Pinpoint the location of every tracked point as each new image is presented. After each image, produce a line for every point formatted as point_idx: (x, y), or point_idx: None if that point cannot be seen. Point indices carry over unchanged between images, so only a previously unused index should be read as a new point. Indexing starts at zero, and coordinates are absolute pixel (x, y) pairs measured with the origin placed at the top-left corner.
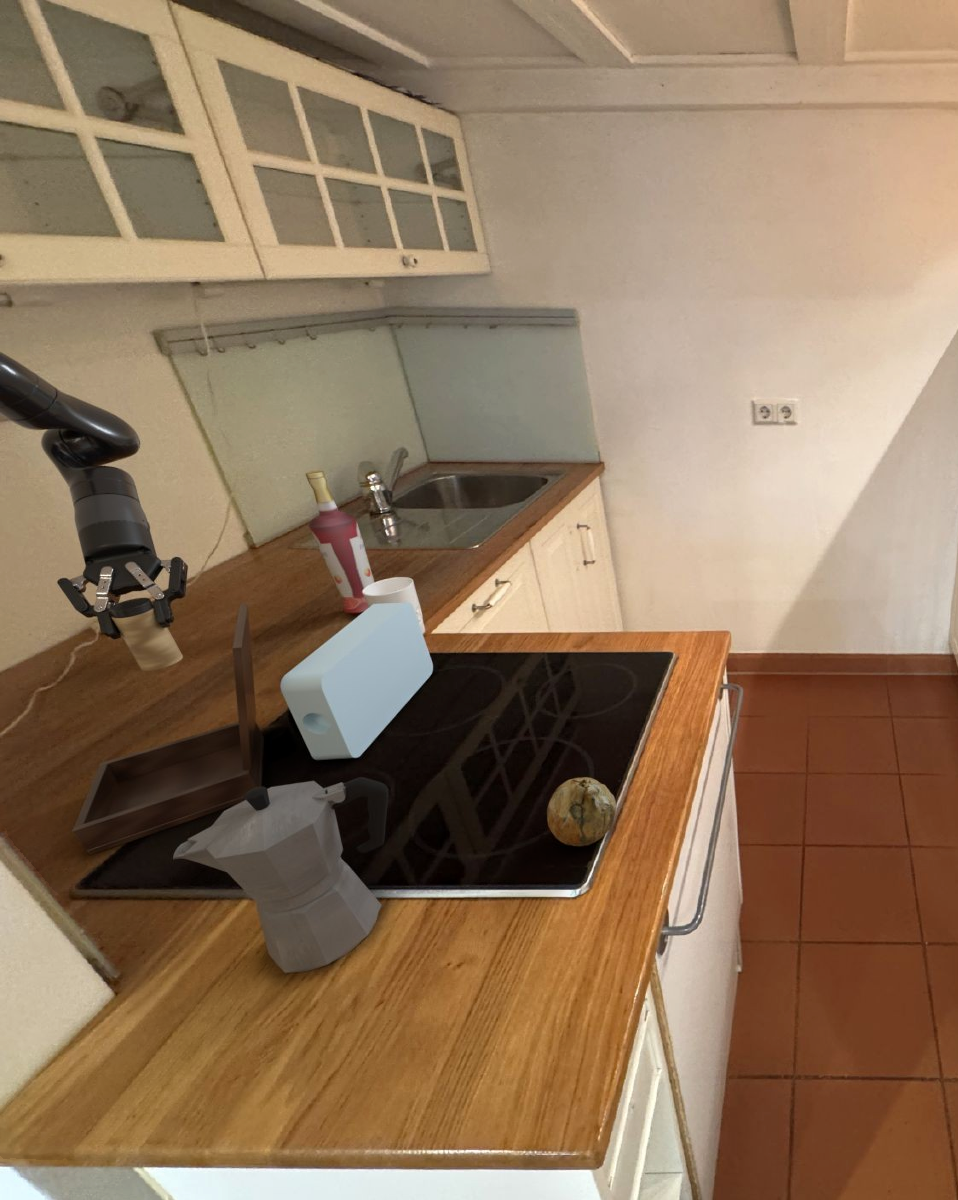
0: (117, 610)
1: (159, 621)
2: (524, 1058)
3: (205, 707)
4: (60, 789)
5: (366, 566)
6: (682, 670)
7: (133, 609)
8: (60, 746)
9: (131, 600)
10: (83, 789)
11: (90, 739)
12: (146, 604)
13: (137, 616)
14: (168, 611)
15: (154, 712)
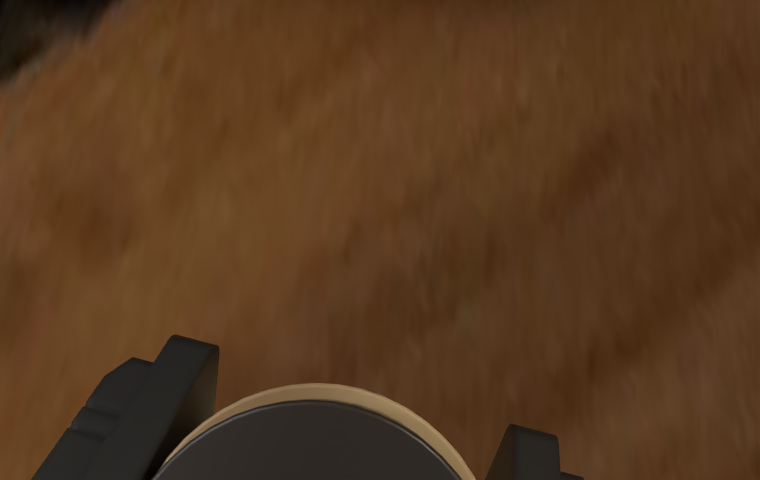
0: (435, 470)
1: (202, 346)
2: None
3: (300, 303)
4: (729, 80)
5: None
6: None
7: (305, 401)
8: (740, 437)
9: None
10: (674, 20)
11: (653, 399)
12: (175, 460)
13: (311, 388)
14: (85, 413)
15: (450, 442)
